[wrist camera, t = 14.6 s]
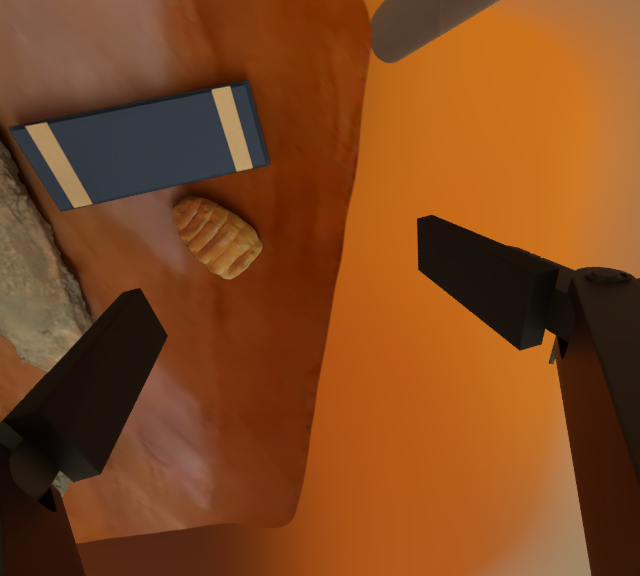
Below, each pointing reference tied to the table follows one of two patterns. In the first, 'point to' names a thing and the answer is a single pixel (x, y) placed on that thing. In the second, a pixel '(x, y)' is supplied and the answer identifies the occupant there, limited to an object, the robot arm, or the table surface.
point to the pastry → (216, 236)
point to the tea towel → (145, 145)
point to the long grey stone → (34, 279)
